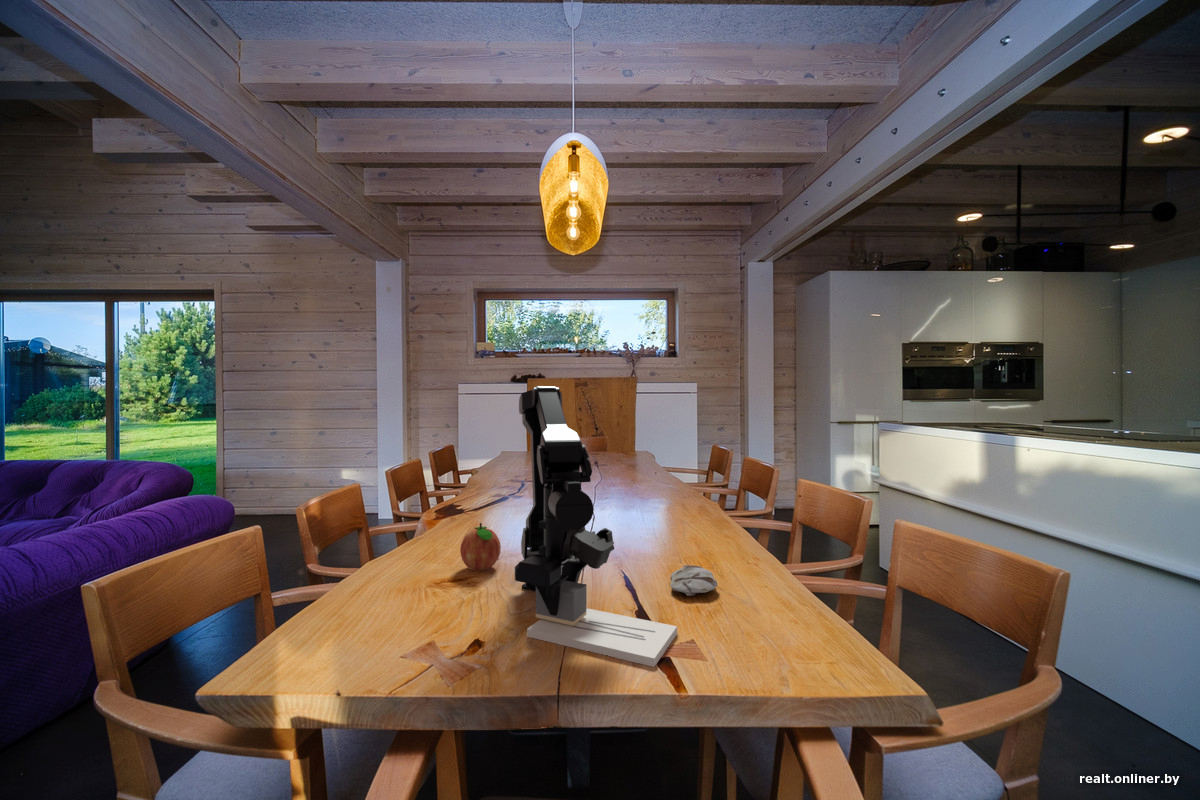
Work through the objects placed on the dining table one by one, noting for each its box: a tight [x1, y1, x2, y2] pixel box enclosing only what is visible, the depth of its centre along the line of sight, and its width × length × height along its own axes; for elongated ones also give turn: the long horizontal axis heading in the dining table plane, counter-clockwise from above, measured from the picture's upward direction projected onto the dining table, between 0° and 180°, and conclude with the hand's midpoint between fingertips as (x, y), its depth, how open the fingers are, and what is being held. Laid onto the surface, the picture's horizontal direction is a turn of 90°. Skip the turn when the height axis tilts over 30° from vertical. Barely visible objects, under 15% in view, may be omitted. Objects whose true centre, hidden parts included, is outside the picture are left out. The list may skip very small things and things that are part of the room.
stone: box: [669, 564, 718, 597], centre depth 100 cm, size 12×9×3 cm
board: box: [526, 607, 678, 668], centre depth 80 cm, size 21×11×1 cm, turn 65°
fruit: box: [459, 522, 502, 571], centre depth 111 cm, size 9×10×10 cm
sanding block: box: [535, 581, 588, 626], centre depth 83 cm, size 7×4×5 cm, turn 65°
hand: (561, 609), depth 83 cm, fingers closed on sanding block, 4 cm apart
